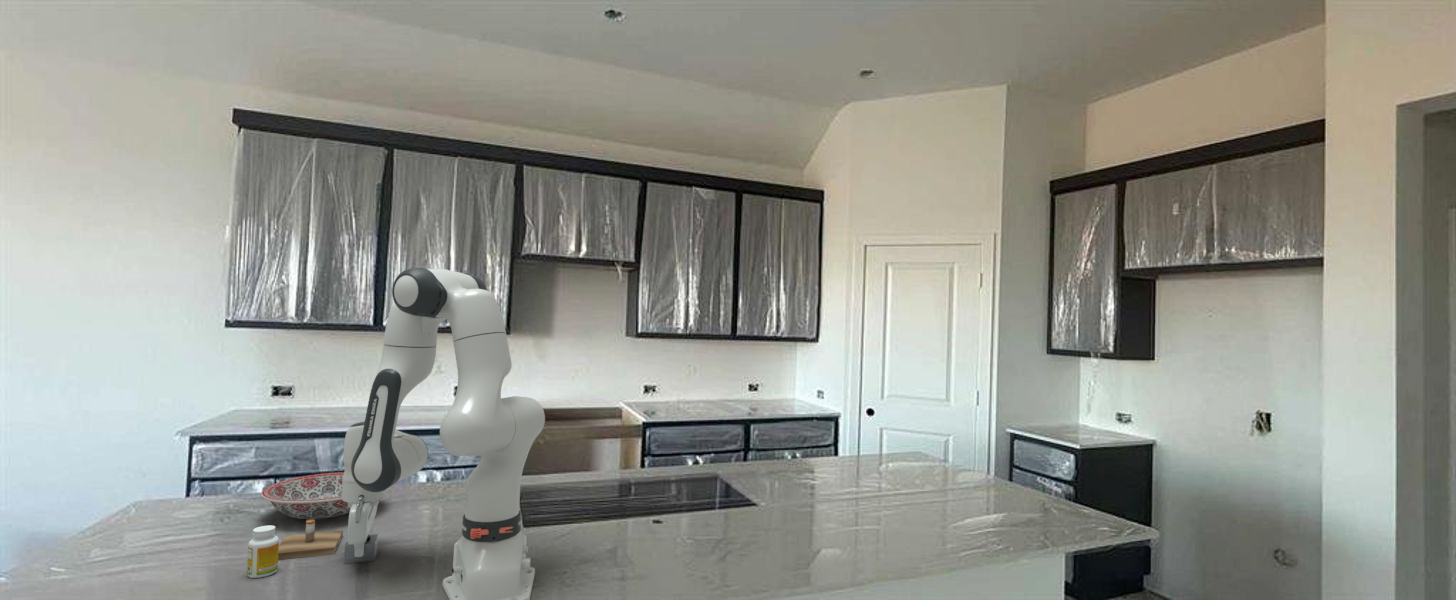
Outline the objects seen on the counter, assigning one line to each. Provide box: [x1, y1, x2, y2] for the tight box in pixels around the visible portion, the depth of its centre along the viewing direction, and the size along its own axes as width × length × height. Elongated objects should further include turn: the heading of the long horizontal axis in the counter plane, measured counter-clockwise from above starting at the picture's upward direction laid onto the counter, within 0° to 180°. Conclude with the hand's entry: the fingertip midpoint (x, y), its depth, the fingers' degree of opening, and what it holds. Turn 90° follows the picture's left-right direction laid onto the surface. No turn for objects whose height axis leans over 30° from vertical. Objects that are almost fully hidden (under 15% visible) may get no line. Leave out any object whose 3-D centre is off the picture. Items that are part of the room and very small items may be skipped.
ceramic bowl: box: [260, 471, 351, 520], centre depth 176 cm, size 29×29×8 cm
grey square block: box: [343, 533, 379, 565], centre depth 148 cm, size 6×6×4 cm
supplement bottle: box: [246, 524, 280, 579], centre depth 138 cm, size 5×5×10 cm
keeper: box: [278, 519, 344, 561], centre depth 152 cm, size 12×12×6 cm
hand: (361, 549), depth 148 cm, fingers closed on grey square block, 6 cm apart
